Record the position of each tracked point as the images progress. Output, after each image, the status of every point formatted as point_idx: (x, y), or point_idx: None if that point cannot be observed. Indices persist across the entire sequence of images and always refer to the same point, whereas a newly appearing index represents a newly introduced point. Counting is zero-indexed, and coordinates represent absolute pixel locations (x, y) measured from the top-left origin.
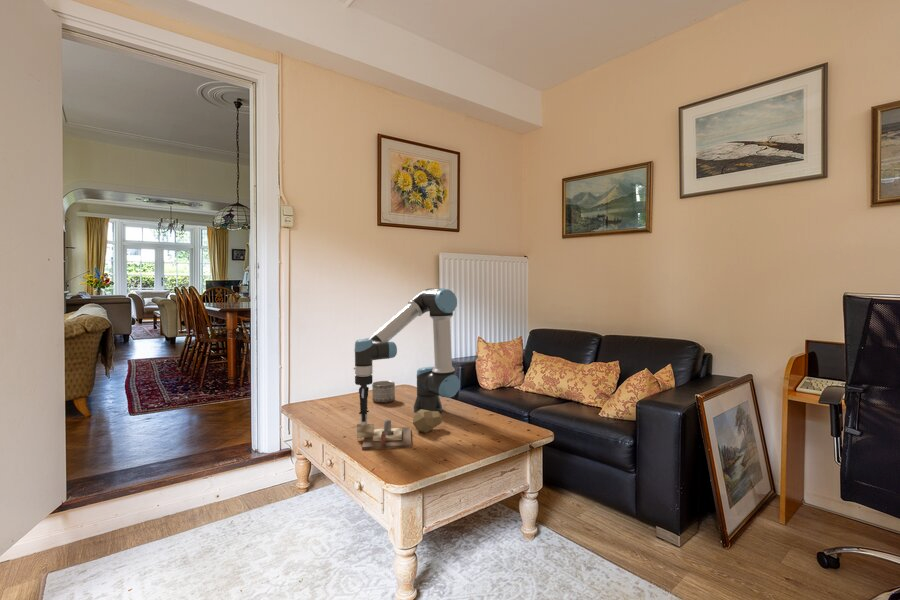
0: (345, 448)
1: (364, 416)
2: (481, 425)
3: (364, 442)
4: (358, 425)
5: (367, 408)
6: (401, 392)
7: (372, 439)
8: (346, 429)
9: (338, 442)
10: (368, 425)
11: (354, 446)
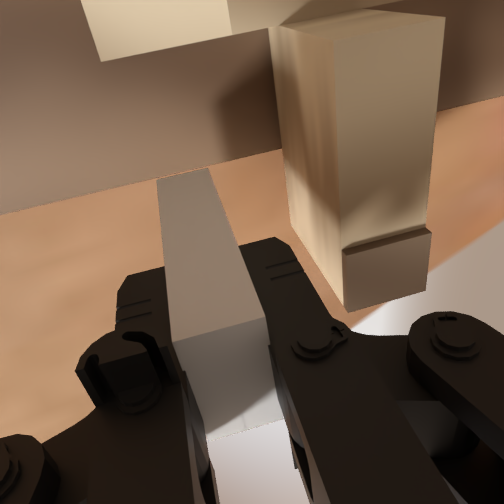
0: (478, 227)
1: (322, 309)
2: None
3: (471, 86)
4: (423, 271)
5: (8, 467)
6: None
7: (393, 5)
8: (14, 394)
9: (344, 321)
10: (414, 124)
11: (453, 171)
